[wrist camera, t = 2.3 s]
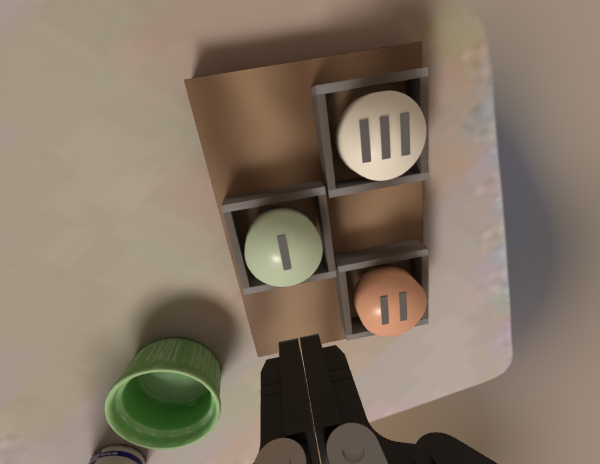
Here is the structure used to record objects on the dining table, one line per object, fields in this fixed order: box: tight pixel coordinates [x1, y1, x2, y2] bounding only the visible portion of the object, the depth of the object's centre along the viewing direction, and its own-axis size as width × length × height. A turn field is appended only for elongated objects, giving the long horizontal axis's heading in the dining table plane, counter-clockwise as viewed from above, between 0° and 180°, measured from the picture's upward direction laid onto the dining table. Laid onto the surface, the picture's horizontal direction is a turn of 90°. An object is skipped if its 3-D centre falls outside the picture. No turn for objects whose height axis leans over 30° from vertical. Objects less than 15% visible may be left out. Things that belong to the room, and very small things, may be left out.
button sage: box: [245, 207, 323, 287], centre depth 21 cm, size 5×5×2 cm
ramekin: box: [104, 338, 221, 450], centre depth 27 cm, size 9×9×4 cm
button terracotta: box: [352, 265, 427, 336], centre depth 23 cm, size 5×5×2 cm
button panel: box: [184, 41, 428, 357], centre depth 23 cm, size 15×22×4 cm
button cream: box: [335, 91, 426, 181], centre depth 19 cm, size 5×5×2 cm
